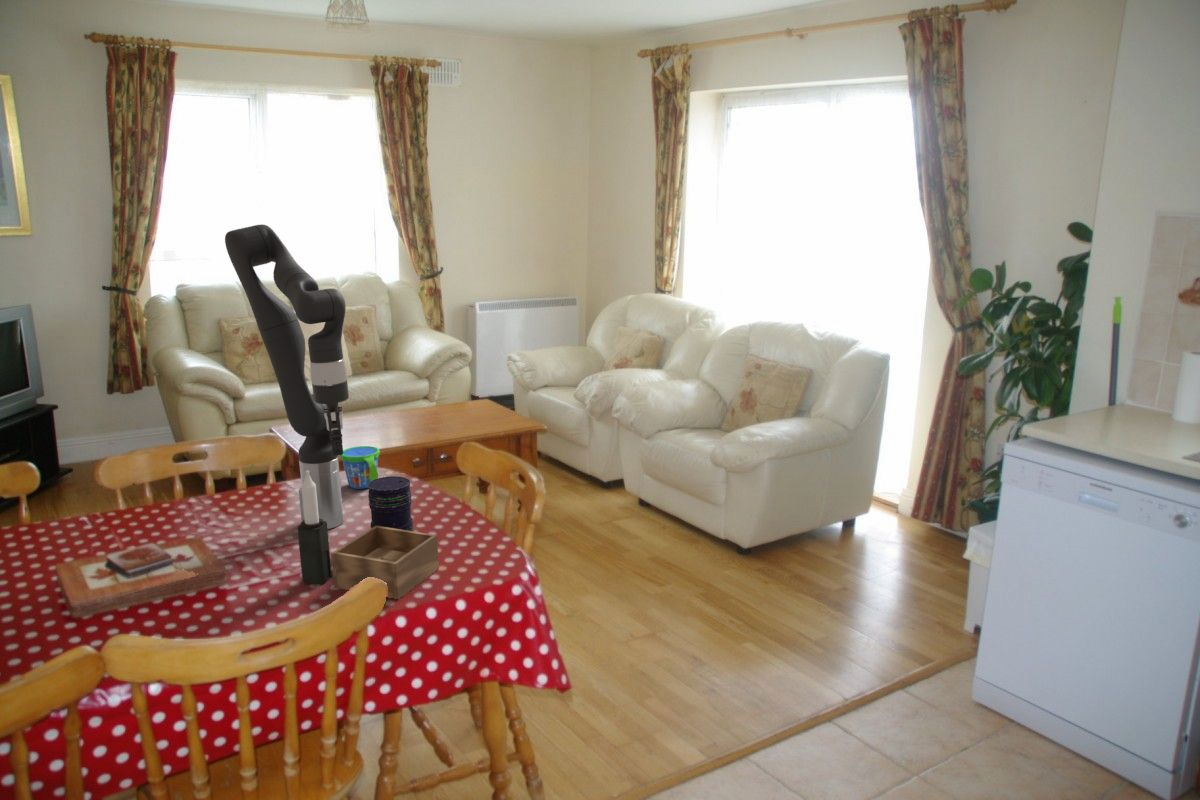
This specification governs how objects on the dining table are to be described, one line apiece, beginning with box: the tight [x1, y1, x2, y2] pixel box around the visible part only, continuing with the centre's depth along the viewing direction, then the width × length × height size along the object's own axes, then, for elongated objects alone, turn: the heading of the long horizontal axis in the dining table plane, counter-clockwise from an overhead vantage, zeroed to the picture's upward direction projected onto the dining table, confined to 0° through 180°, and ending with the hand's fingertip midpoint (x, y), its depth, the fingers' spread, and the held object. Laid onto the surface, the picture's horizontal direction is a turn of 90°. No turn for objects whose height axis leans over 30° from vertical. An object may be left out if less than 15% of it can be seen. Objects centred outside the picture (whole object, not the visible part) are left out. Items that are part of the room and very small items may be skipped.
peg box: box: [330, 526, 440, 601], centre depth 195 cm, size 16×16×8 cm
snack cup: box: [339, 445, 381, 490], centre depth 252 cm, size 16×10×10 cm
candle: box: [296, 470, 333, 586], centre depth 192 cm, size 5×5×25 cm
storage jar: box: [367, 475, 415, 532], centre depth 213 cm, size 10×10×15 cm
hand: (338, 449), depth 203 cm, fingers open, 8 cm apart
